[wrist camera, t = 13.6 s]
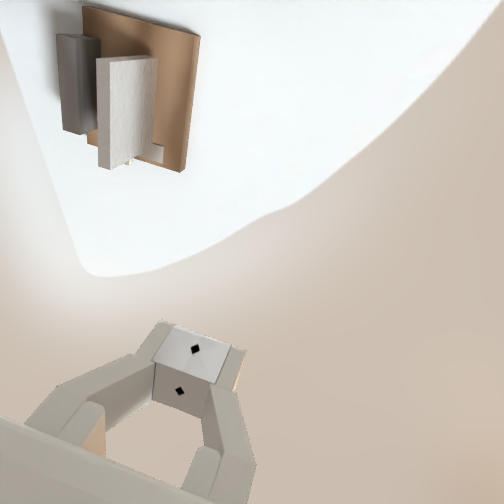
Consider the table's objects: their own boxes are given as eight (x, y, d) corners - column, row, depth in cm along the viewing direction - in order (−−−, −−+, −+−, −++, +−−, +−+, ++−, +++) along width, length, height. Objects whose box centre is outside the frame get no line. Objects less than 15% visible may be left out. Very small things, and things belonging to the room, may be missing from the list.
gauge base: (200, 36, 36) (176, 36, 31) (184, 168, 43) (164, 184, 39) (91, 6, 37) (53, 2, 32) (95, 140, 45) (64, 152, 40)
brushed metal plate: (163, 57, 36) (109, 62, 28) (155, 170, 42) (110, 199, 35) (116, 44, 36) (50, 45, 29) (115, 157, 43) (62, 183, 35)
